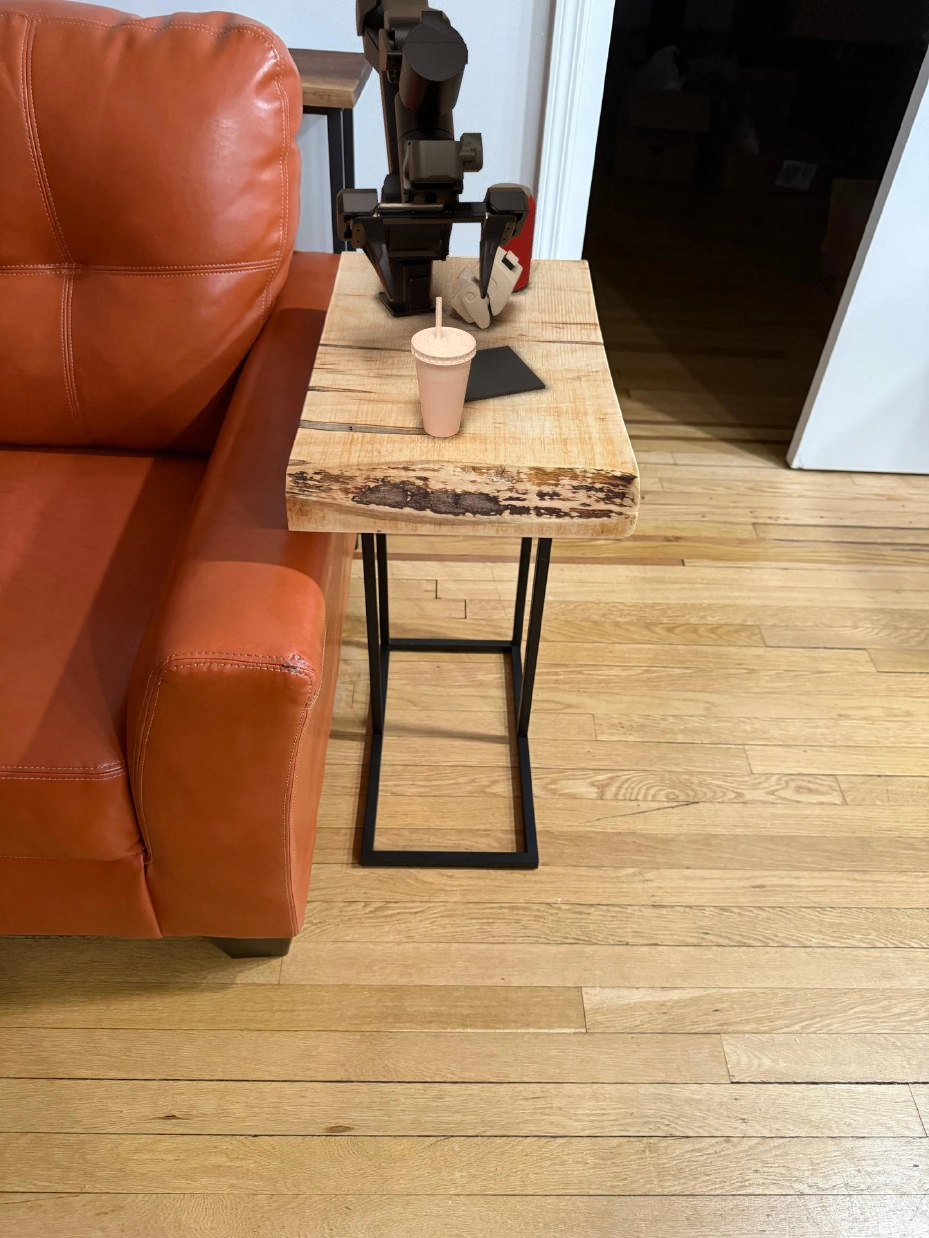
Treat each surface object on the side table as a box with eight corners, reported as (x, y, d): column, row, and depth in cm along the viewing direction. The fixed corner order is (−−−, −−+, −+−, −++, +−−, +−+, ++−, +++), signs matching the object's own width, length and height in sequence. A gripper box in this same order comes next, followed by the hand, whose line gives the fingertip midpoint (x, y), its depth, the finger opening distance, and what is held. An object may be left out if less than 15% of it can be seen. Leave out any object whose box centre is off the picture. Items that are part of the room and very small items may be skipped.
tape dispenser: (473, 342, 114) (529, 289, 108) (434, 303, 112) (489, 247, 106) (483, 322, 118) (538, 270, 112) (446, 284, 116) (500, 229, 110)
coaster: (429, 360, 106) (429, 357, 106) (508, 348, 109) (508, 345, 109) (462, 402, 100) (462, 399, 99) (545, 388, 103) (545, 385, 102)
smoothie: (402, 417, 97) (401, 287, 87) (459, 407, 99) (464, 280, 89) (422, 448, 93) (423, 316, 83) (481, 438, 94) (489, 307, 85)
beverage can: (529, 276, 125) (538, 183, 117) (527, 296, 120) (536, 201, 112) (480, 272, 125) (485, 179, 117) (476, 292, 120) (480, 197, 112)
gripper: (331, 95, 82) (343, 266, 82) (534, 96, 85) (547, 262, 84) (332, 161, 93) (343, 312, 93) (512, 160, 96) (524, 308, 95)
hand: (438, 298), depth 91 cm, fingers open, 9 cm apart
